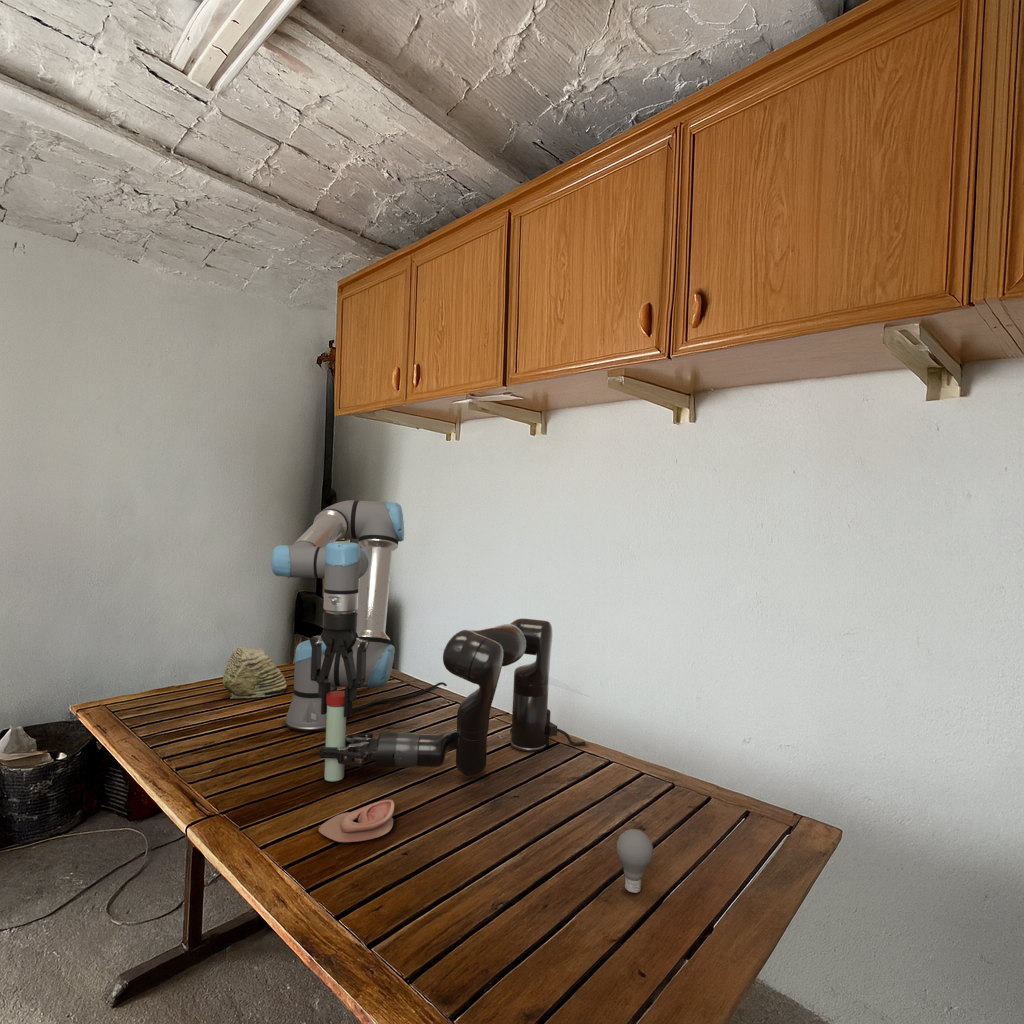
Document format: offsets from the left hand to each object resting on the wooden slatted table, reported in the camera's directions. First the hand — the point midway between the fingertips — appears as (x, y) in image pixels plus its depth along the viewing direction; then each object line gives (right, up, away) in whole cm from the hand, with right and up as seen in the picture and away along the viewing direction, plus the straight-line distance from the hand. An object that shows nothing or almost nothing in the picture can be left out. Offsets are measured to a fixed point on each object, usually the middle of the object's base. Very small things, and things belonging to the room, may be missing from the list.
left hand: (336, 713), depth 143 cm
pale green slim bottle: (-1, -15, 0) cm, 15 cm away
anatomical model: (+10, -15, -21) cm, 28 cm away
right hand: (-3, -8, 0) cm, 8 cm away
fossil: (-41, -12, +55) cm, 70 cm away
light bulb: (+60, -18, -37) cm, 73 cm away
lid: (0, +4, 0) cm, 4 cm away
